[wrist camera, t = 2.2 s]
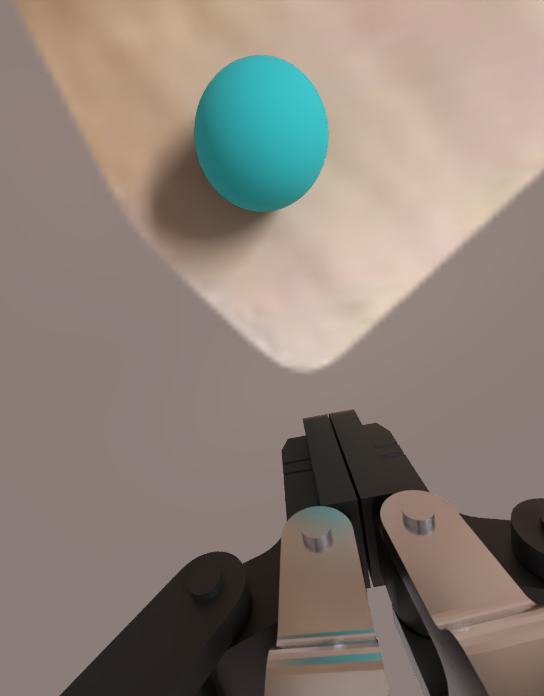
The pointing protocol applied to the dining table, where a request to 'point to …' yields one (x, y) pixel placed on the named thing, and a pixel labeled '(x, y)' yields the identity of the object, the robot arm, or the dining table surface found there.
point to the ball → (261, 133)
